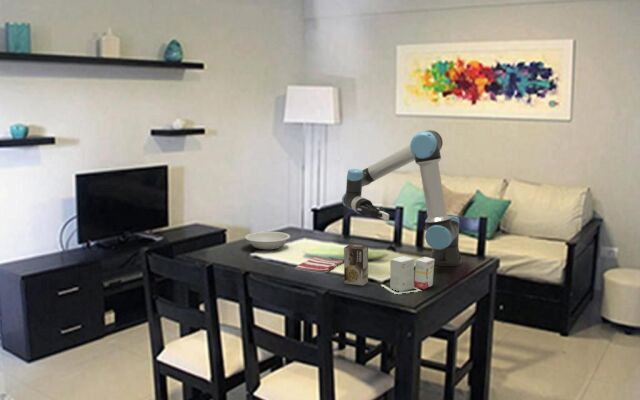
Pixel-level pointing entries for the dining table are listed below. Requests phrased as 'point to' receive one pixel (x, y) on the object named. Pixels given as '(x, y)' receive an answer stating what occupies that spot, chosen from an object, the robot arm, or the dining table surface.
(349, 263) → the coffee box
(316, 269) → the dish towel
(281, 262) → the dining table surface
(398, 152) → the robot arm
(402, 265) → the small box
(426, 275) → the ink box
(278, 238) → the soup bowl
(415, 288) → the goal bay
